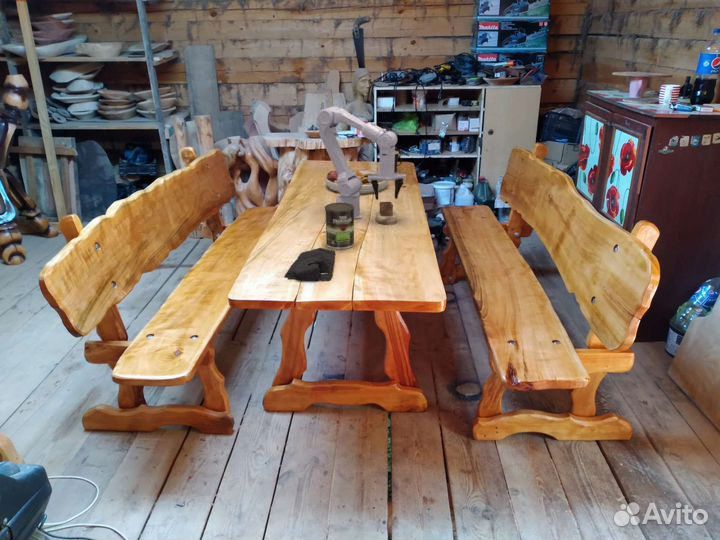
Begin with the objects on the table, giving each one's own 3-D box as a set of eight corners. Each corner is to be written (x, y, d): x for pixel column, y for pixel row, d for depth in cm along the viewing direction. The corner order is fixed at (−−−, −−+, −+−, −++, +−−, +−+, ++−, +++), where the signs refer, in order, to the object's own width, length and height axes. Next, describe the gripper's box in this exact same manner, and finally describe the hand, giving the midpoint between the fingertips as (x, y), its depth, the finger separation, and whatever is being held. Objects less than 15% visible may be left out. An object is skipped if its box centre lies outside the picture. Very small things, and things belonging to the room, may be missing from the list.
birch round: (377, 225, 217) (377, 217, 216) (375, 219, 224) (375, 210, 223) (397, 225, 218) (397, 216, 216) (395, 218, 225) (395, 210, 223)
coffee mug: (379, 170, 296) (380, 151, 292) (394, 168, 299) (395, 150, 294) (387, 175, 286) (387, 156, 282) (402, 174, 288) (403, 154, 284)
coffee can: (357, 247, 196) (357, 209, 190) (329, 250, 193) (328, 212, 187) (350, 237, 205) (350, 201, 199) (323, 240, 202) (322, 203, 196)
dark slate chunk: (342, 256, 190) (342, 243, 188) (329, 284, 170) (329, 270, 168) (299, 254, 192) (298, 241, 190) (281, 281, 172) (280, 267, 170)
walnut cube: (381, 216, 217) (381, 205, 215) (379, 212, 221) (379, 202, 219) (392, 215, 217) (392, 204, 216) (390, 212, 221) (390, 201, 220)
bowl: (387, 179, 280) (387, 163, 277) (388, 196, 253) (389, 179, 250) (328, 179, 281) (327, 164, 278) (323, 196, 254) (323, 179, 250)
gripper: (370, 167, 206) (369, 202, 212) (407, 166, 208) (406, 200, 214) (367, 163, 213) (366, 197, 218) (403, 161, 215) (402, 195, 220)
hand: (386, 198), depth 217 cm, fingers open, 7 cm apart
